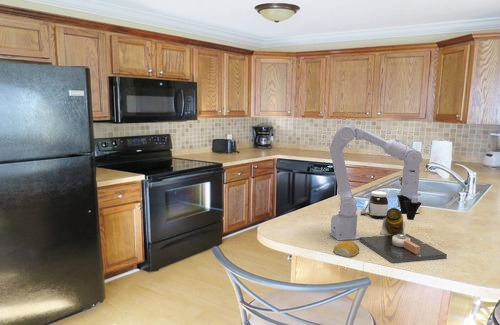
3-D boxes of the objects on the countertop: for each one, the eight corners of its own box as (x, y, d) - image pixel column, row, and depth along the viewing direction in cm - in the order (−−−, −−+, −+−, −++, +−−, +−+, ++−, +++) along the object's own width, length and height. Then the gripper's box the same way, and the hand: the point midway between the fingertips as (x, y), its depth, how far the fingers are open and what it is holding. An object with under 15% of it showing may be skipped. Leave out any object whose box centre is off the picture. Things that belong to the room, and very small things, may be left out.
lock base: (392, 263, 123) (393, 246, 122) (359, 241, 143) (360, 226, 142) (446, 258, 128) (448, 242, 127) (407, 237, 148) (408, 224, 147)
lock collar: (388, 241, 137) (389, 235, 137) (402, 240, 139) (403, 234, 138) (409, 254, 126) (410, 247, 125) (424, 253, 127) (425, 246, 127)
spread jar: (389, 220, 172) (391, 195, 170) (364, 219, 172) (366, 194, 171) (380, 212, 184) (382, 189, 182) (357, 212, 184) (359, 189, 182)
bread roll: (362, 251, 133) (362, 241, 132) (352, 259, 126) (352, 248, 125) (340, 246, 138) (340, 235, 137) (329, 253, 131) (330, 242, 130)
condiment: (402, 237, 148) (402, 222, 139) (380, 234, 152) (378, 218, 143) (405, 222, 151) (404, 206, 143) (383, 218, 155) (381, 203, 147)
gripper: (428, 185, 131) (424, 223, 133) (415, 178, 146) (412, 212, 148) (407, 184, 132) (404, 221, 134) (396, 177, 146) (393, 211, 148)
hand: (407, 216), depth 141 cm, fingers open, 7 cm apart
